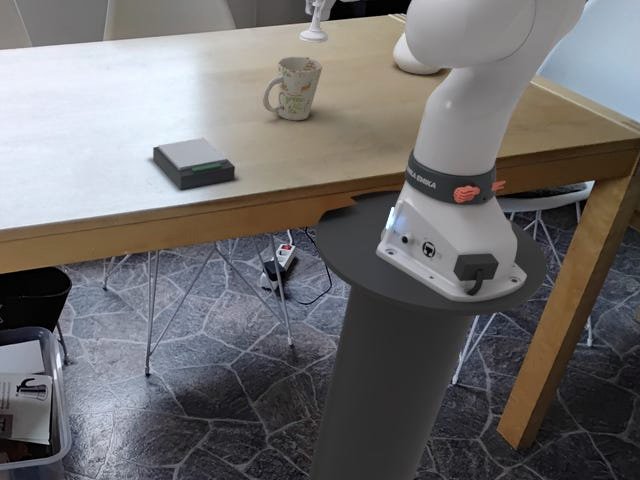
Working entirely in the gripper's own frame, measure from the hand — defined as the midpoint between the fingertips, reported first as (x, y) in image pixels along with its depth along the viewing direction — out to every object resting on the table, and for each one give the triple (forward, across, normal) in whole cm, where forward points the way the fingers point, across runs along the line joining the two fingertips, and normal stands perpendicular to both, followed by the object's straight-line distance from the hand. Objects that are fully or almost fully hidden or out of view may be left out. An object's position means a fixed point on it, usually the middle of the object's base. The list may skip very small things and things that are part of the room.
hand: (316, 16), depth 125 cm
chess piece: (+4, 0, 0) cm, 4 cm away
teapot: (+21, -21, +44) cm, 53 cm away
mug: (+21, -8, +1) cm, 22 cm away
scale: (+21, +7, -26) cm, 34 cm away
